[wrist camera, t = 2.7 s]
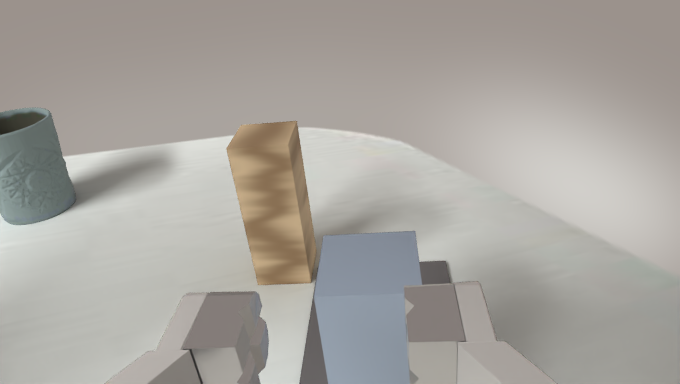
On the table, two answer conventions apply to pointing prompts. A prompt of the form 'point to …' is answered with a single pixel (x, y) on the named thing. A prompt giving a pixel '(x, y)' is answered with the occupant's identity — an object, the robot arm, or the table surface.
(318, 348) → the mat
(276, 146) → the oak pillar
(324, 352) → the slate pillar
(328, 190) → the table surface
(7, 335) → the table surface
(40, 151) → the teal embossed cup
